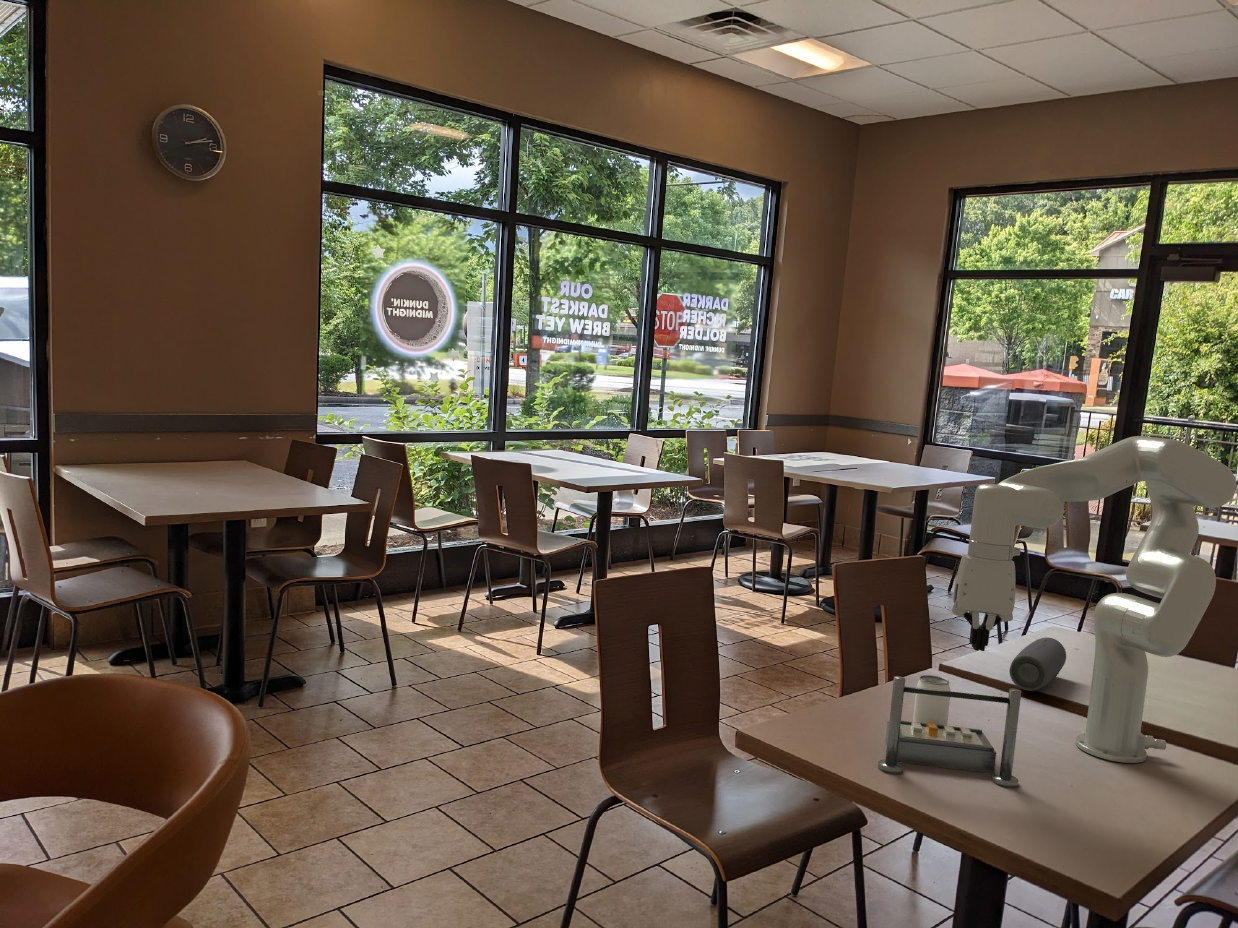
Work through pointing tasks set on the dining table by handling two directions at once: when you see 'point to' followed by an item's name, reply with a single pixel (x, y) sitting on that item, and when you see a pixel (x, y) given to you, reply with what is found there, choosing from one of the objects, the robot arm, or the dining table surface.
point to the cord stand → (899, 688)
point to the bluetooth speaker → (1038, 664)
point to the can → (932, 701)
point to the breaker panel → (944, 747)
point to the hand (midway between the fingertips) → (977, 648)
